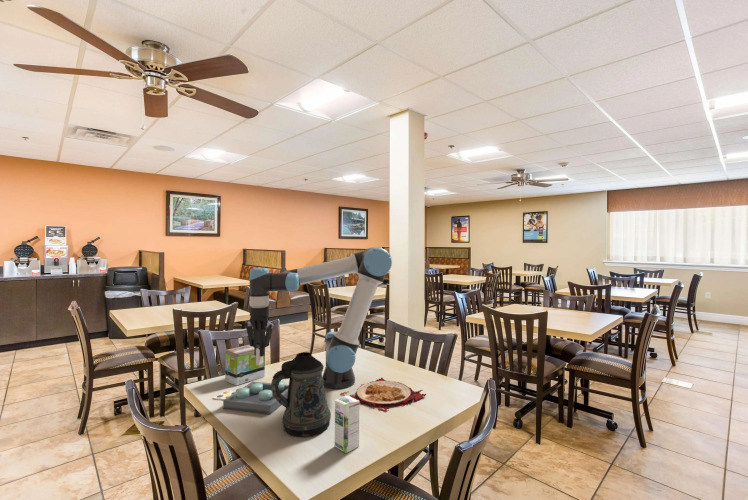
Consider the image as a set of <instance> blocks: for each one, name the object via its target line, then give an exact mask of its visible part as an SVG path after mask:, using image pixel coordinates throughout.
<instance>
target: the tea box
mask: <svg viewBox="0 0 748 500" xmlns="http://www.w3.org/2000/svg"><path fill="white" fill-rule="evenodd" d="M265 362H266V354H265V355H264V356H263V363H262V364H260V365H256V356H255V355H254V347H252V346H250V344H247V345H243V346H242V345H241V346H238V347H233V348H229V349H226V350H225V363H224V364H225V366H224V367H225V368H224V369H225V371H224V372H225V374H224V378H225V379H224V381H225V382H226V383H229V384H232V385H234V386H236V387H237V386H239V385H242V384H246V383H248V382H253V381H255V380H258V379H262V378H265V376H266V375H265V374H266V373H265V371H266V363H265Z"/></svg>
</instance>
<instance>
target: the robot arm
mask: <svg viewBox="0 0 748 500" xmlns="http://www.w3.org/2000/svg"><path fill="white" fill-rule="evenodd" d="M392 265H393V259H392V256H391V254H390V253H389V252H388V250H386V249H384V248H383V247H379V246H375V247H369V248H367V249H364V250H362V251H359V252H356V253H352V254H351V255H350V256H347V257H343V258H339V259H333V260H330V261H324V262H321V263H316V264H311V265H307V266H302V267H298V268H294V269H288V270H287V269H286V270H283V271H282V272H270V269H269V268H267V267H266V268H265V267H257V268H256V267H255V268H251V269H250V271H249V280H248V281H249V306H250V307H249V317H250V318H249V319H248V321H247V322H244V324H243V325H244V327H245V329H246V334H247V338H248V342H249V345H250V346H252V347H254V355H255V356H256V365H260V364H262V363H263V356H264V355H265V356H266V347H269V346H270V343H271V338H272V333H273V329H274V327H275V323H273V322H271V321H270V318H269V315H270V307H269V305H270V292H295V291H298V290H299V286H301V285H306V284H311V283H315V282H319V281H324V280H327V279H333V278H337V277H340V276H345V275H350V274H356V275H357V276H358V281H357V283H356V286H355V288H354V290H353V293H352V296H351V298H350V301H349V303H348V306H347V309H346V312H345V314H344V317H343V320H342V322H341V323H340V327H339V330H338V331H329V332H327V333H326V334H325V338H324V339H325V367H324V369H323V372H322V379H323V385H324V388H329V389H345V388H349V387H351V386H353V385H354V384H355V382H356V376H355V373H354V369H353V368H354V365H355V363H356V359H357V358H356V357H357V356H356V354H357V352H358V348H359V346H360V340H359V336H360V334H361V331H362V327H363V325H364V323H365V320H366V317H367V315H368V312H369V309H370V307H371V305H372V302H373V299H374V297H375V294H376V292H377V290H378V286H379V285H381V284H383V283H384V280H385V278H386V276H387V274H388V273H389V272H390V270H391V268H392Z"/></svg>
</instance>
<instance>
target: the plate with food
mask: <svg viewBox="0 0 748 500" xmlns="http://www.w3.org/2000/svg"><path fill="white" fill-rule="evenodd" d="M422 391H424V390H423V389H420V390H416V391H415V390H413V389H412V388H411V387H410V386H407V385H406V384H405V383H402V382H401V381H400V382H399V381H394V380H386V379H385V378H383V377H380V378H378V379H377V378H376V380H372V381H370V382H367V383H363V384H360V386H358V387H357V388H356V392H355V393H352V394H350V391H348V390H347V391H344V392H341V393H340V395H341V396H342V397H344V396H346V395H347V394H350V395H348V396H350V397H352V398H354V399H356V400H359V405H360V404H361V405H363V404H366V405H368V406H371V408H370V409H373V410H376V409H375V408H374V407H376V408H377V411H378V412H381V411H382V413H387V412H390V411H389V409H390V408H393V407H396V406H397V407H401V408H403V407H405V406H408V405H409V402H413V401H415V402H417V401H420V400H421V399H422V398H423V397H426V396H427V393H421V392H422ZM356 397H357V398H356Z"/></svg>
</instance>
